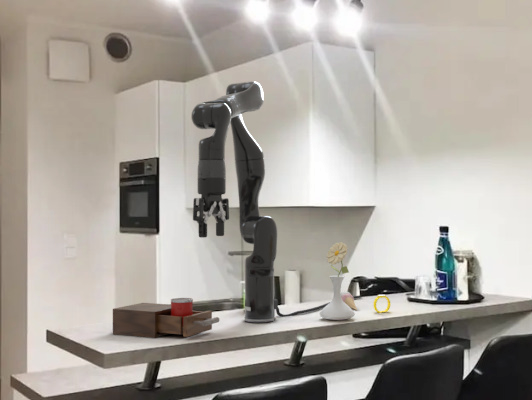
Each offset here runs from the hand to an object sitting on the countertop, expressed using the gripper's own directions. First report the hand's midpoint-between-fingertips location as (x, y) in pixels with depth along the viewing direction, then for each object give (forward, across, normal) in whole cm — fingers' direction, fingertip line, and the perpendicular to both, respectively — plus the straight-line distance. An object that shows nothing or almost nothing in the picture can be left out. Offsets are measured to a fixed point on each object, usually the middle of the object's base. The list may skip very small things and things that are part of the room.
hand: (211, 236), depth 191 cm
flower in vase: (+28, -46, +18) cm, 57 cm away
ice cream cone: (+28, -73, +12) cm, 79 cm away
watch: (+28, -66, +26) cm, 76 cm away
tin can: (+26, -4, -12) cm, 29 cm away
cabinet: (+28, -4, -24) cm, 37 cm away
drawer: (+27, -4, -11) cm, 30 cm away
